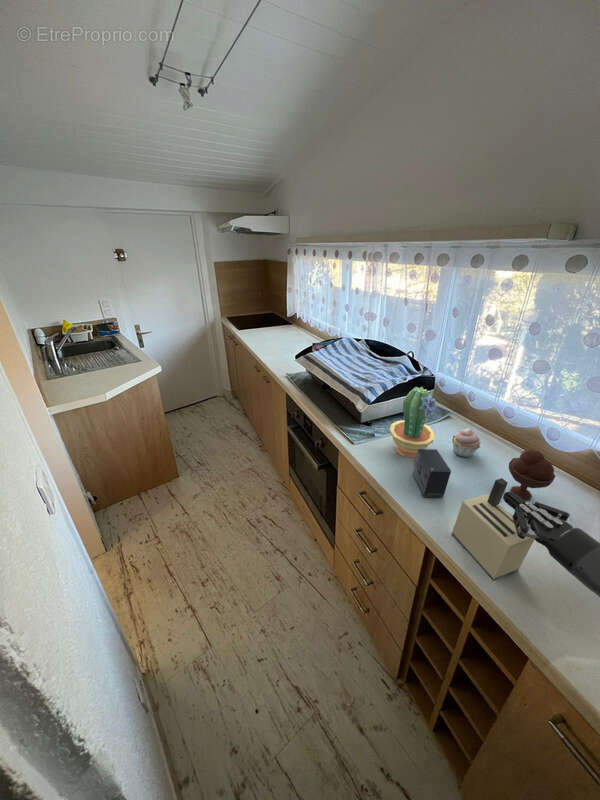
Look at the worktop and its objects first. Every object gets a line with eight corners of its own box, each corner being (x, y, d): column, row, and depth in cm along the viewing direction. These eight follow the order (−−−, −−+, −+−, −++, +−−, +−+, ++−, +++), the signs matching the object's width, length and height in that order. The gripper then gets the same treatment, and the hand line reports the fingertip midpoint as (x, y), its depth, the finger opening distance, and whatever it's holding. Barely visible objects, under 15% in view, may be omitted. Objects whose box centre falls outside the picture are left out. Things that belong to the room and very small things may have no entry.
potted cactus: (389, 461, 106) (399, 398, 94) (384, 435, 120) (393, 377, 108) (435, 465, 104) (452, 400, 92) (425, 438, 118) (439, 379, 106)
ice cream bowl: (494, 493, 92) (510, 453, 85) (507, 475, 99) (523, 438, 92) (535, 513, 85) (556, 472, 78) (546, 493, 92) (567, 454, 85)
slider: (493, 499, 74) (502, 477, 71) (499, 504, 73) (508, 482, 70) (487, 501, 74) (495, 479, 70) (492, 506, 72) (501, 484, 69)
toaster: (474, 526, 82) (486, 493, 76) (518, 570, 71) (536, 536, 65) (451, 534, 80) (462, 500, 74) (493, 580, 69) (509, 546, 63)
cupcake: (480, 462, 105) (488, 438, 100) (451, 458, 107) (457, 434, 102) (474, 446, 113) (481, 423, 108) (447, 442, 115) (453, 420, 110)
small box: (445, 498, 91) (453, 471, 86) (423, 498, 91) (430, 471, 86) (431, 473, 100) (437, 448, 95) (411, 474, 100) (417, 448, 95)
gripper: (625, 538, 55) (533, 475, 69) (572, 560, 51) (488, 488, 66) (605, 564, 58) (522, 499, 73) (555, 586, 55) (478, 513, 70)
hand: (506, 494), depth 70 cm, fingers closed
